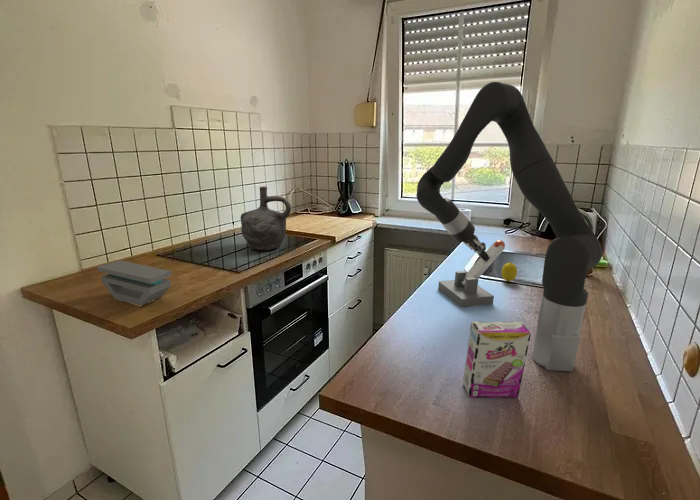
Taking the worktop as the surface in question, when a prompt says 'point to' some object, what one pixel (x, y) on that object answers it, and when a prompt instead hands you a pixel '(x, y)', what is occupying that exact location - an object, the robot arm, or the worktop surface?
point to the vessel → (265, 223)
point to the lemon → (509, 271)
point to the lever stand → (465, 291)
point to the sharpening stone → (134, 281)
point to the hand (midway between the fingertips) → (485, 257)
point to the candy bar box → (495, 359)
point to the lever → (484, 261)
